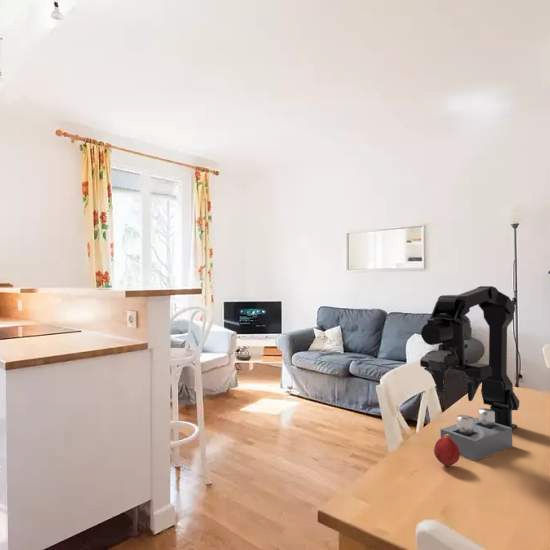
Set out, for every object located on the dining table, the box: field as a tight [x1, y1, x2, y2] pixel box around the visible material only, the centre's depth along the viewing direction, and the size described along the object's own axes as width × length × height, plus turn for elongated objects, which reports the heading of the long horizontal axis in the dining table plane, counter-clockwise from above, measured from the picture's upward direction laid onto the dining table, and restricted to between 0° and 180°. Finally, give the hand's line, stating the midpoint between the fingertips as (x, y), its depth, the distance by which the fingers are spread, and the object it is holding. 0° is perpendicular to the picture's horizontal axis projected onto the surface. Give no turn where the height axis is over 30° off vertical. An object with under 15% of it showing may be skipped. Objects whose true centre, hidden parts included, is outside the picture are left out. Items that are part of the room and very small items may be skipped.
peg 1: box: [456, 414, 474, 437], centre depth 107 cm, size 4×4×5 cm
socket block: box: [440, 417, 513, 462], centre depth 110 cm, size 17×10×5 cm, turn 121°
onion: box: [433, 434, 461, 468], centre depth 98 cm, size 6×6×8 cm
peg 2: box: [478, 407, 495, 429], centre depth 112 cm, size 4×4×5 cm
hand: (455, 396), depth 111 cm, fingers open, 9 cm apart
